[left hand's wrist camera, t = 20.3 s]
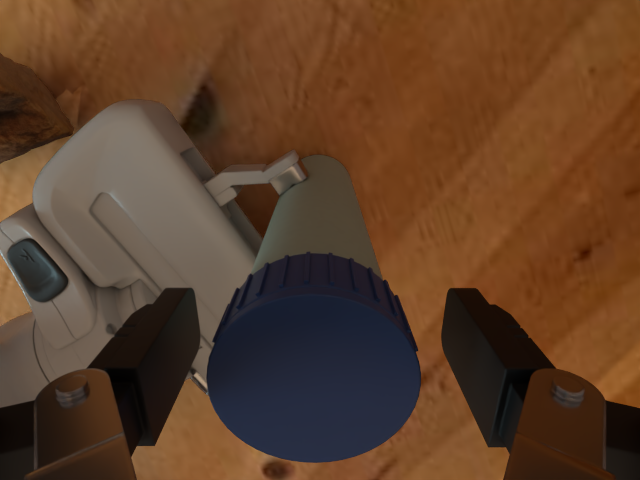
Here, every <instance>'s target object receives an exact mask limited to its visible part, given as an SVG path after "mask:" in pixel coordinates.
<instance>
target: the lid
mask: <svg viewBox="0 0 640 480" xmlns="http://www.w3.org/2000/svg"><path fill="white" fill-rule="evenodd" d="M212 342H213V343H214V346H213V348H212V351H211V353H210V356H209V358H208V365H207V375H206V379H207V389H208V393H209V397H210V400H211V403H212V405H213V407H214V410H215V411H216V413H217V415H218V416H219V418H220V419H221V421H222V422H223V423H224V424H225V426H226V427H227V428H228V429H229V430H230V431H231V432H232V433H233V434H234V435H236V436H237V437H238V438H239V439H241V440H242V441H244V442H245V443H246V444H248V445H250V446H252V447H253V448H255V449H257V450H259V451H262V452H264V453H266V454H269V455H272V456H275V457H278V458H282V459H286V460H291V461H298V462H313V463H318V462H331V461H338V460H343V459H347V458H351V457H354V456H357V455H360V454H363V453H365V452H367V451H370V450H372V449H374V448H376V447H377V446H379V445H381V444H382V443H384V442H385V441H387V440H388V439H389V438H390V437H392V436H393V435H394V434H395V433H396V432H397V431H398V430H399V429H400V428H401V427H402V426H403V425H404V424H405V422H406V421H407V419H408V418H409V417H410V415H411V413H412V411H413V409H414V408H415V405H416V402H417V399H418V397H419V391H420V386H421V371H420V365H419V361H418V358H417V355H416V351H418V348H417V345H416V342H415V340H414V337H413V334H412V332H411V329H410V326H409V324H408V321H407V318H406V315H405V313H404V311H403V308H402V305H401V303H400V300H399V297H398V295H395V296H394V294H393V292H392V291H391V290H390V288H389V285H388V282H387V281H386V280H384V281H383V280H382V279H381V278H380V277H379V276H377V275H376V274H375V273H374V272H373V269H372V268H371V267H369V268H366V267H365V266H363V265H361V264H359V263H357V262H355V261H354V259H353V258H350V259H347V258H343V257H340V256H336V255H333V253H330V252H329V253H328V254H320V253H310V252H306V254H298V255H293V256H289V255H285V256H284V258H282V259H279V260H276V261H274V262H272V263H270V264H269V263H268V262H267V263H265V265H264V267H263V268H261V269H260V270H258V271H257V272H255V273H254V274H253V275H252V274H251V273H250V274H249V275H248V277H247V280H246V281H245V283H244V284H243V285H242V286H241V287H240V288H236V290H235V292H234V294H233V297H232V299H231V301H230V304H228V305H227V307H226V310H225V312H224V314H223V317H222V319H221V321H220V324H219V326H218V328H217V331H216V333H215V335H214V338H213V340H212Z"/></svg>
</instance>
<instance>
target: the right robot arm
mask: <svg viewBox="0 0 640 480" xmlns="http://www.w3.org/2000/svg"><path fill="white" fill-rule="evenodd" d="M308 173H309V172H308V170H307V169H306V167H305V166H304V164H303V162H302V161H301V159H300V157H299V156H298V154H297V153H296V151H295V150H294V149H293V150H291V151H289V152H288V153H286V154H285V155H283V156H282V157H280V158H278V159H277V160H275V161H274V162H272V163H271V164H269V165H268V166H267V165H266V164H238V165H230V166H228V167H227V168H225V169H224V170H222V171H221V172H219V173H218V174H215V172H214V171H213V170H212V168H211V167H210V166H209V164H208V163H207V162H206V160H205V159H204V157H203V156H202V155H201V153H200V152H199V151H198V149H197V148H196V146H195V145H194V144H193V142H192V141H191V140H190V138H189V137H188V136H187V134H186V133H185V131H184V130H183V129H182V127H181V126H180V125H179V123H178V122H177V121H176V119H175V118H174V116H173V115H172V114H171V112H170V111H169V110H168V108H167V107H166V106H165V105H164V104H162V103H159V102H155V101H149V100H142V99H129V100H123V101H119V102H116V103H114V104H112V105H110V106H108V107H106V108H105V109H104V110H102V111H101V112H100V113H98V114H97V115H96V116H95V117H93V118H92V119H91V120H90V121H89V122H87V123H86V124H85V125H84V126H83V127H82V128H81V129H80V130H78V131H77V132H76V133H75V134H74V135H73V136H72V137H71V138H70V139H69V140H68V141H67V142H66V143H65V144H64V145H63V146H62V147H61V148H60V149H59V150H58V151H57V152H56V154H55V155H54V156H53V157H52V158H51V159H50V160H49V161H48V162H47V164H46V165H45V166H44V167H43V169H42V170H41V172H40V173H39V175H38V177H37V179H36V181H35V184H34V187H33V196H32V197H33V203H32V204H30V205H28V206H26V207H24V208H22V209H20V210H19V211H17V212H15V213H14V214H12V215H11V216H9V217H8V218H6V219H5V220H3V221H2V222H0V254H1V256H2V257H3V259H4V261H5V262H6V264H7V265H8V267H9V269H10V270H11V272H12V274H13V275H14V277H15V279H16V280H17V282H18V284H19V286H20V288H21V289H22V291H23V293H24V295H25V297H26V299H27V301H28V303H29V305H30V307H31V310H32V312H30V313H27V314H24V315H21V316H18V317H16V318H14V319H12V320H10V321H8V322H7V323H5V324H3V325H2V326H0V408H1V407H6V406H10V405H15V404H19V403H24V402H28V401H33V400H35V399H36V397H37V395H38V394H39V392H40V391H41V390H42V389H43V388H44V387H45V386H46V385H48V384H49V383H50V382H52V381H53V380H55V379H57V378H58V377H61V376H63V375H65V374H67V373H70V372H73V371H76V370H81V369H86V368H87V367H88V366H89V365H90V363H91V362H92V361H93V360H94V359H95V357H96V356H97V355H98V354H99V353H100V351H101V350H102V349H103V348H104V346H105V345H106V344H107V343H108V342H109V340H110V339H111V338H112V337H114V334H115V333H116V332H117V331H118V330H119V328H120V327H122V325H123V324H124V322H125V321H126V320H127V319H128V318H129V316H130V315H131V314H132V313H134V312H135V311H137V310H138V309H140V308H141V307H143V306H145V305H146V304H153V303H154V302H155V300H156V299H157V298H158V297H159V295H160V294H161V293H162V291H163V290H164V289H165V288H193V290H194V292H195V297H196V304H197V311H198V318H199V325H200V346H199V350H198V353H197V355H196V357H195V359H194V362H193V364H192V366H191V368H190V370H189V372H188V375H187V377H186V379H185V380H187V379H189V378H190V379H191V380H192V381H193V382H194V383H195V384H196V385H197V386H198V387H199V388H200V389H201V390H202V391H203V392H204V393H205V394H207V395H208V396H209V393H208V389H207V379H206V375H207V365H208V358H209V356H210V353H211V351H212V348H213V346H214V343H213V342H212V340H213V338H214V335H215V333H216V331H217V328H218V326H219V324H220V321H221V319H222V317H223V314H224V312H225V310H226V307H227V305H228V304H230V301H231V299H232V297H233V294H234V292H235V290H236V288H240V287H241V286H242V285H243V284H244V283H245V281H246V280H247V277H248V275H249V274H250V273H251V271H252V268H253V266H254V263H255V260H256V258H257V255H258V252H259V250H260V247H261V244H262V242H263V238H262V237H261V235H260V234H259V232H258V231H257V230H256V228H255V227H254V226H253V224H252V223H251V222H250V220H249V219H248V217H247V216H246V215H245V213H244V212H243V211H242V209H241V208H240V207H239V205H238V204H237V202H236V201H235V200H234V198H235V197H236V196H237V195H238V194H239V192H240V191H241V190H242V188H243V187H244V185H248V184H266V183H271V185H272V186H273V187H274V189H275V190H276V192H277V193H278V194H279V196H280V195H281V194H283V193H285V192H286V191H288V190H289V189H290V188H291V185H292V184H295V185H297V184H299V183H301V182H302V181H304V180H305V179H306V178H307V177H308Z"/></svg>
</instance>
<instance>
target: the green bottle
mask: <svg viewBox="0 0 640 480" xmlns="http://www.w3.org/2000/svg"><path fill="white" fill-rule="evenodd" d="M301 161H302V162H303V164H304V166H305V167H306V169H307V170H308V172H309V173H308V177H307V178H306V179H305V180H304V181H302V182H301V183H299V184H297V185H295V184H292V185H291V188H290V189H289V190H288V191H286V192H285V193H283V194H281V195H280V196H279V199H278V202H277V204H276V207H275V210H274V212H273V215H272V218H271V220H270V223H269V226H268V228H267V231H266V234H265V236H264V239H263V242H262V244H261V247H260V250H259V252H258V255H257V258H256V260H255V263H254V266H253V268H252V271H251V274H252V275H253V274H254V273H255V272H257V271H258V270H260V269H261V268H263V267H264V265H265V263H267V262H268V263H269V264H270V263H272V262H274V261H276V260H279V259H282V258H284V256H285V255H289V256H293V255H298V254H306V252H310V253H320V254H328V253H329V252H330V253H333V255H336V256H340V257H343V258H347V259H350V258H353V259H354V261H355V262H357V263H359V264H361V265H363V266H365V267H366V268H369V267H371V268H372V269H373V272H374V273H375V274H376V275H377V276H379V277H380V278H381V279H382V280H383V278H382V275H381V272H380V269H379V266H378V263H377V260H376V257H375V253H374V250H373V247H372V244H371V241H370V238H369V235H368V232H367V228H366V225H365V222H364V219H363V216H362V213H361V210H360V207H359V204H358V200H357V197H356V194H355V191H354V188H353V185H352V182H351V179H350V176H349V173H348V171H347V170H346V168H345V167H344V166H343V165H342V164H341V163H340V162H339V161H337V160H336V159H334V158H332V157H329V156H325V155H312V156H308V157H305V158H303V159H301Z"/></svg>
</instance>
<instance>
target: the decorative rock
mask: <svg viewBox="0 0 640 480" xmlns="http://www.w3.org/2000/svg"><path fill="white" fill-rule="evenodd" d="M73 130H74V127H73V126H72V125H71V123H70V122H69V120H68V119H67V118H66V116H65V115H64V113H63V112H62V111H61V109H60V107H59V105H58V103H57V102H56V100H55V98H54V97H53V95H52V94H51V92H50V91H49V90H48V88H47V87H46V86H45V85H44V84H43V83H42V82H41V81H40V80H39V79H38V78H37V76H36V75H35V73H34V72H33V71H32V69H30V68H28V67H26V66H24V65H21V64H18V63H15V62H13V61H12V60H11V59H9V58H6V57H4V56H3V55H2V54H1V53H0V163H2V162H3V161H7V160H10V159H12V158H15V157H17V156H20V155H22V154H25V153H26V152H28V151H30V150H31V149H34V148H37V147H40V146H43V145H45V144H48V143H50V142H52V141H55V140H57V139H60V138H63V137H67V136H71V135H72V134H73Z"/></svg>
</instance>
